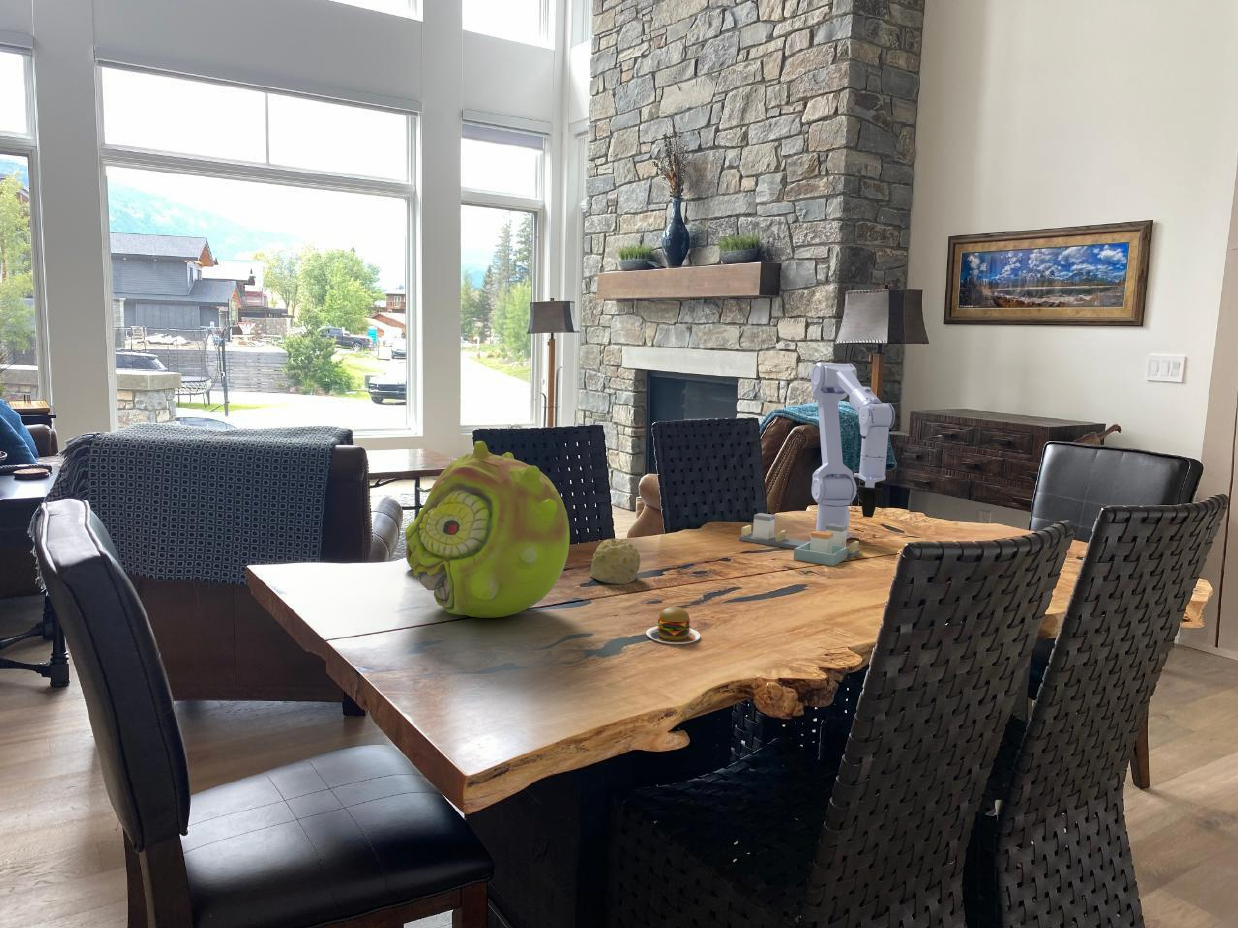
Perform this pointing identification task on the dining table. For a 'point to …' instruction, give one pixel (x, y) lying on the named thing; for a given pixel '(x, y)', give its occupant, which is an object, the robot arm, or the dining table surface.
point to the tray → (820, 555)
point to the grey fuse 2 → (838, 533)
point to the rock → (615, 562)
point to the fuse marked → (821, 541)
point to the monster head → (489, 536)
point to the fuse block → (787, 541)
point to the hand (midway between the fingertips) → (868, 514)
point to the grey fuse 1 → (763, 526)
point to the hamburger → (673, 626)
